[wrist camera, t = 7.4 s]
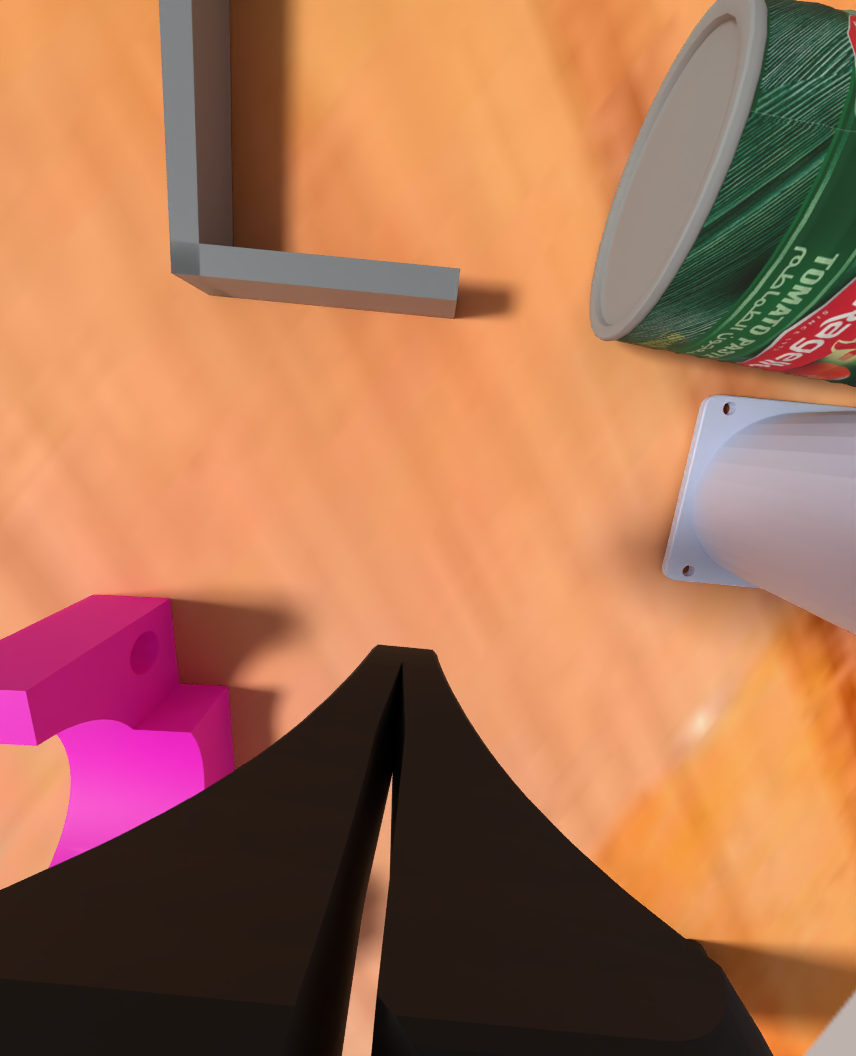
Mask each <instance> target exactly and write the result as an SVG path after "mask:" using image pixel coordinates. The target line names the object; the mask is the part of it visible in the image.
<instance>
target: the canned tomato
mask: <svg viewBox="0 0 856 1056" xmlns="http://www.w3.org/2000/svg"><path fill="white" fill-rule="evenodd" d="M590 321H591V327H592V329H593V331H594V333H595V335H596V336H597V337H598V338H600V339H601V340H604V341H613V340H616V341H621V342H626V343H631V344H636V345H641V346H645V347H649V348H652V349H662V350H668V351H672V352H675V353H683V354H689V355H694V356H697V357H699V358H711V359H715V360H718V361H721V362H732V363H736V364H740V365H743V366H753V367H758V368H762V369H764V370H774V371H779V372H783V373H786V374H794V375H801V376H805V377H807V378H812V379H822V380H826V381H829V382H832V383H843V384H848V385H850V386H853V387H856V11H854V10H838V9H834V8H832V7H830V6H827V5H823V4H820V3H814V2H804V1H796V0H717V1H716V2H715V3H714V4H713V5H712V6H711V7H710V9H709V10H708V11H707V12H706V13H705V15H704V16H703V18H702V19H701V20H700V22H699V23H698V24H697V26H696V27H695V28H694V30H693V31H692V33H691V34H690V36H689V37H688V39H687V41H686V42H685V44H684V46H683V47H682V49H681V50H680V52H679V54H678V55H677V57H676V59H675V61H674V62H673V64H672V66H671V68H670V70H669V72H668V73H667V75H666V77H665V79H664V81H663V83H662V84H661V87H660V89H659V91H658V93H657V95H656V97H655V99H654V101H653V103H652V105H651V107H650V109H649V111H648V113H647V116H646V118H645V120H644V122H643V125H642V127H641V129H640V132H639V134H638V136H637V138H636V141H635V143H634V146H633V148H632V151H631V153H630V156H629V158H628V161H627V163H626V166H625V168H624V171H623V174H622V176H621V179H620V182H619V185H618V188H617V190H616V193H615V196H614V199H613V202H612V205H611V209H610V212H609V215H608V218H607V221H606V225H605V228H604V232H603V235H602V239H601V243H600V247H599V251H598V255H597V260H596V264H595V269H594V275H593V280H592V287H591V296H590Z"/></svg>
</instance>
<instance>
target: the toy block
mask: <svg viewBox="0 0 856 1056" xmlns="http://www.w3.org/2000/svg"><path fill="white" fill-rule="evenodd" d="M56 734H57V735H58V737H59V738H60V739H61V741H62V743H63V745H64V747H65V750H66V753H67V756H68V759H69V765H70V774H71V790H70V799H69V806H68V811H67V816H66V820H65V824H64V828H63V831H62V834H61V837H60V841H59V844H58V846H57V849H56V852H55V854H54V857H53V859H52V862H51V864H50V866H49V868H50V867H53V866H55V865H57V864H59V863H61V862H64V861H66V860H68V859H70V858H72V857H75V856H77V855H79V854H81V853H83V852H85V851H88V850H90V849H92V848H94V847H96V846H99V845H101V844H103V843H105V842H107V841H109V840H111V839H113V838H115V837H117V836H119V835H121V834H123V833H125V832H127V831H129V830H131V829H133V828H135V827H137V826H139V825H141V824H142V823H144V822H146V821H148V820H150V819H152V818H154V817H156V816H158V815H160V814H162V813H164V812H165V811H167V810H169V809H171V808H173V807H174V806H176V805H178V804H180V803H182V802H183V801H185V800H187V799H189V798H191V797H192V796H194V795H196V794H198V793H199V792H201V791H203V790H204V789H206V788H208V787H209V786H211V785H212V784H214V783H216V782H217V781H219V780H220V779H222V778H223V777H225V776H227V775H228V774H230V773H231V772H233V771H235V768H234V756H233V743H232V730H231V717H230V705H229V692H228V686H216V685H196V684H179V677H178V667H177V658H176V649H175V640H174V631H173V622H172V613H171V603H170V598H152V597H131V596H110V595H91V596H89V597H87V598H85V599H83V600H81V601H79V602H77V603H75V604H73V605H71V606H69V607H67V608H65V609H63V610H61V611H59V612H57V613H55V614H53V615H50V616H48V617H46V618H44V619H42V620H40V621H38V622H36V623H34V624H32V625H30V626H28V627H26V628H24V629H22V630H20V631H18V632H16V633H14V634H12V635H10V636H7V637H5V638H3V639H1V640H0V744H13V745H32V746H38V745H39V744H41V743H42V742H44V741H46V740H47V739H49V738H50V737H52V736H54V735H56Z"/></svg>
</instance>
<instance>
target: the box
mask: <svg viewBox="0 0 856 1056" xmlns="http://www.w3.org/2000/svg"><path fill="white" fill-rule="evenodd" d="M159 13H160V35H161V57H162V79H163V101H164V123H165V144H166V166H167V188H168V210H169V232H170V254H171V273H172V274H174V275H176V276H177V277H179V278H181V279H183V280H184V281H186V282H188V283H189V284H191V285H193V286H195V287H196V288H198V289H200V290H201V291H203V292H205V293H207V294H208V295H214V296H224V297H234V298H245V299H255V300H265V301H276V302H286V303H296V304H307V305H317V306H327V307H338V308H348V309H359V310H369V311H379V312H390V313H400V314H410V315H421V316H431V317H441V318H452V319H454V316H455V309H456V303H457V294H458V284H459V274H460V269H458V268H448V267H437V266H427V265H417V264H406V263H396V262H386V261H375V260H365V259H355V258H344V257H334V256H324V255H313V254H303V253H293V252H282V251H272V250H262V249H251V248H241V247H233V208H232V138H231V68H230V0H159Z"/></svg>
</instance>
